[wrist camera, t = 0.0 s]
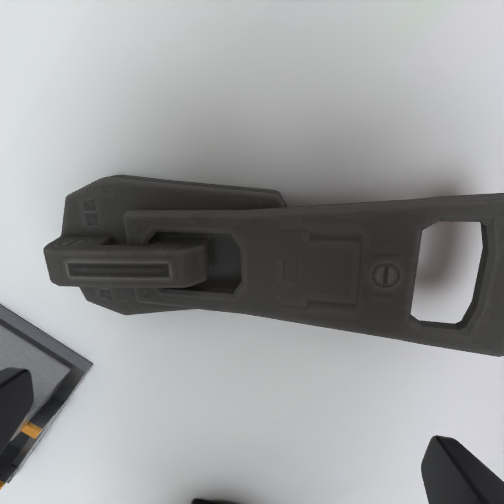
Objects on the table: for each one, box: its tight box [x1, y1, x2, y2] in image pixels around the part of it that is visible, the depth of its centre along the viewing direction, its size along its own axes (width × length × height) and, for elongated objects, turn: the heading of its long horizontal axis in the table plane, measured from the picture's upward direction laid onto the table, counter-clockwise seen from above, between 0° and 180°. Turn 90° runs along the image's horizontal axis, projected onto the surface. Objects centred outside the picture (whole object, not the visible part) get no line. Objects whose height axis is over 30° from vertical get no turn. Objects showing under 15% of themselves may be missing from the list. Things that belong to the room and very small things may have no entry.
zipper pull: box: [43, 175, 504, 357], centre depth 18 cm, size 9×7×25 cm
